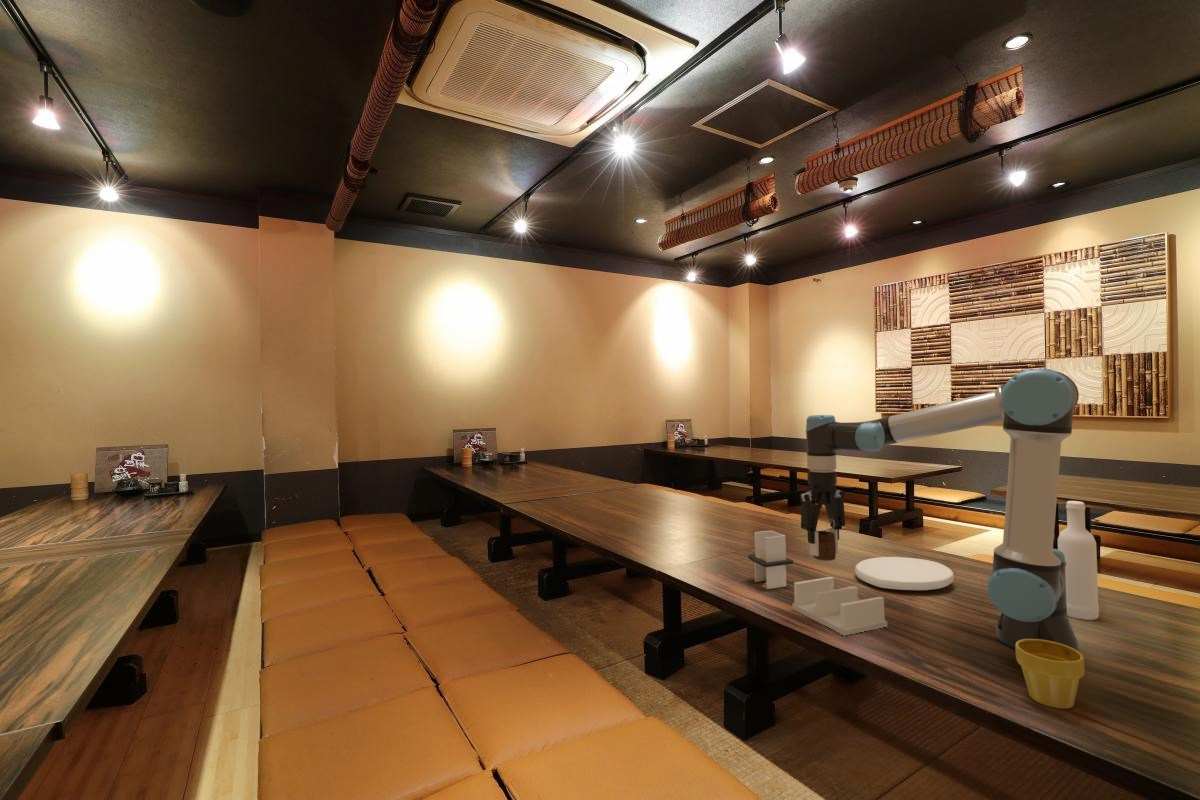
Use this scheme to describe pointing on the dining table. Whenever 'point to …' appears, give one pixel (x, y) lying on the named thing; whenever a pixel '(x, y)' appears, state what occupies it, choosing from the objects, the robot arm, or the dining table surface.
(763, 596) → the dining table surface
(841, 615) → the slot rack
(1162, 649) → the dining table surface
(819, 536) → the utensil holder
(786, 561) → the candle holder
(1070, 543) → the bottle
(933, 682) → the dining table surface
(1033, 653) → the plant pot
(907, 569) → the plate
